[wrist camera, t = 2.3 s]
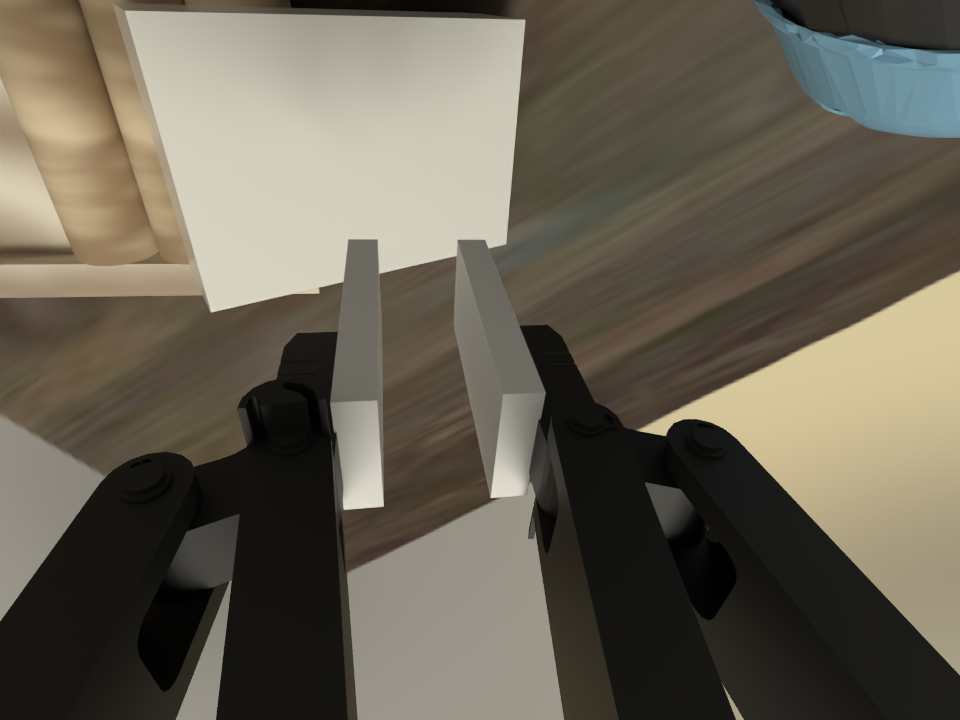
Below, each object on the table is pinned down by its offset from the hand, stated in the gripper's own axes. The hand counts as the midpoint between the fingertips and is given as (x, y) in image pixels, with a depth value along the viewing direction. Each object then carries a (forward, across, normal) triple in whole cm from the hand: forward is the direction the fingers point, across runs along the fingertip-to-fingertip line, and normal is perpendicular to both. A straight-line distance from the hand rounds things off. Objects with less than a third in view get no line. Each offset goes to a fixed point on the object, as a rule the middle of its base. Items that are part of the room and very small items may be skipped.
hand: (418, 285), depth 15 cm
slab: (+15, -3, 0) cm, 15 cm away
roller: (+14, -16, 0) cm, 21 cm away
